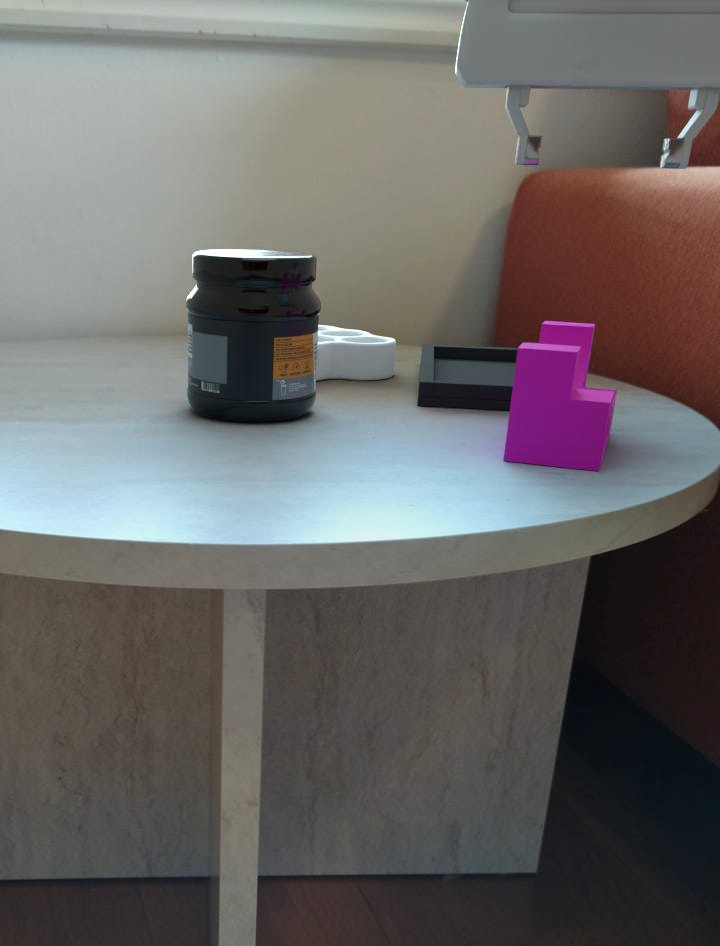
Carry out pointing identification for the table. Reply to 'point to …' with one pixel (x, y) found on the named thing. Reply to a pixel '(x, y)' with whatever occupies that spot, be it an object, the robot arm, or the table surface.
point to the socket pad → (466, 376)
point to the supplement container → (252, 334)
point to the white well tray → (353, 355)
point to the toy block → (558, 402)
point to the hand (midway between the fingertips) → (598, 167)
